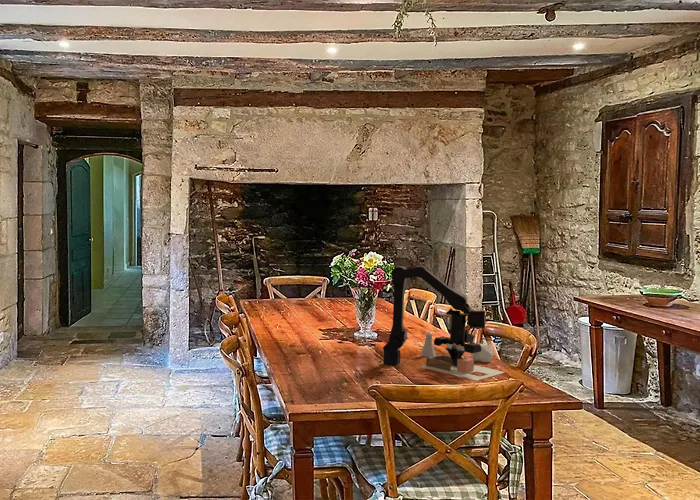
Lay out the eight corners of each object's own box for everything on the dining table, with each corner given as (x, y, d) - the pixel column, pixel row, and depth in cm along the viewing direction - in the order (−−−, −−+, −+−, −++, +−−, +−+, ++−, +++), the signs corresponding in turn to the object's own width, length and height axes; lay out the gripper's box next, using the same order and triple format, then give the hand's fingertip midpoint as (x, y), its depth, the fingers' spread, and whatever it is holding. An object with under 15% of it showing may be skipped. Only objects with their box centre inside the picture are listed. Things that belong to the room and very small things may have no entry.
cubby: (448, 370, 266) (449, 363, 266) (426, 365, 274) (426, 357, 274) (464, 366, 273) (464, 359, 273) (441, 361, 281) (442, 354, 281)
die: (469, 361, 290) (465, 346, 284) (485, 350, 292) (482, 335, 286) (482, 373, 283) (478, 357, 278) (498, 361, 286) (495, 345, 280)
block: (466, 373, 264) (467, 361, 263) (456, 370, 267) (457, 359, 266) (473, 371, 267) (474, 359, 266) (463, 368, 270) (464, 357, 270)
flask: (438, 356, 295) (438, 333, 294) (435, 360, 288) (436, 336, 287) (421, 355, 297) (421, 332, 296) (418, 359, 290) (418, 335, 289)
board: (476, 383, 253) (476, 380, 253) (420, 369, 271) (420, 366, 271) (505, 375, 266) (505, 372, 266) (450, 362, 285) (450, 359, 285)
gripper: (490, 328, 268) (488, 368, 269) (450, 320, 281) (449, 358, 282) (473, 331, 260) (471, 372, 261) (433, 323, 273) (432, 363, 274)
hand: (456, 366), depth 270 cm, fingers closed
